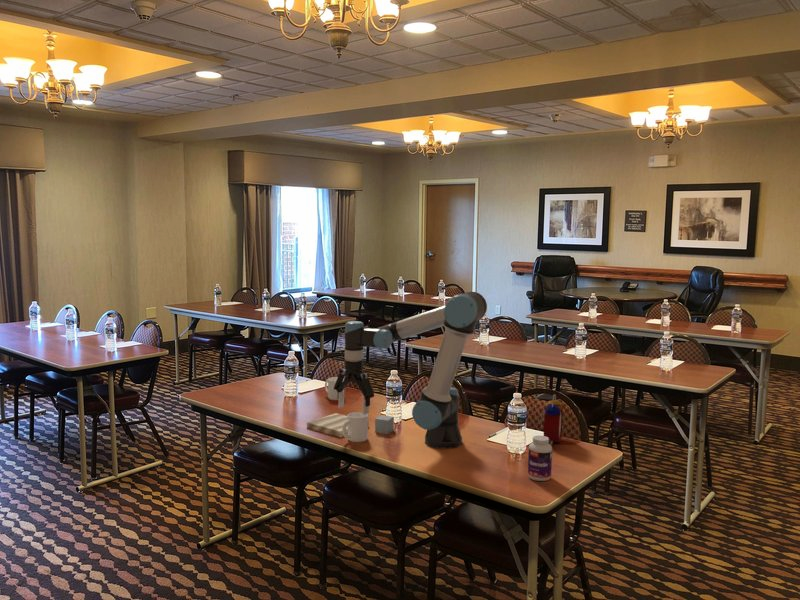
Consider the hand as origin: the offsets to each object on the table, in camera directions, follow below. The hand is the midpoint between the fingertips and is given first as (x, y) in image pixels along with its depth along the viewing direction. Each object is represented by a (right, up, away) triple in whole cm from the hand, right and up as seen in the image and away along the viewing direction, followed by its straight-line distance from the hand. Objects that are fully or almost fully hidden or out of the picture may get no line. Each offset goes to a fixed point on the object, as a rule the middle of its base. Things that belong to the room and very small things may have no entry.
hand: (353, 410), depth 259 cm
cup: (-15, -5, +67) cm, 69 cm away
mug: (0, -13, +1) cm, 13 cm away
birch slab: (-8, -11, +18) cm, 23 cm away
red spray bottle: (+81, -13, +1) cm, 82 cm away
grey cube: (+12, -11, +13) cm, 21 cm away
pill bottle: (+68, -17, -37) cm, 79 cm away
